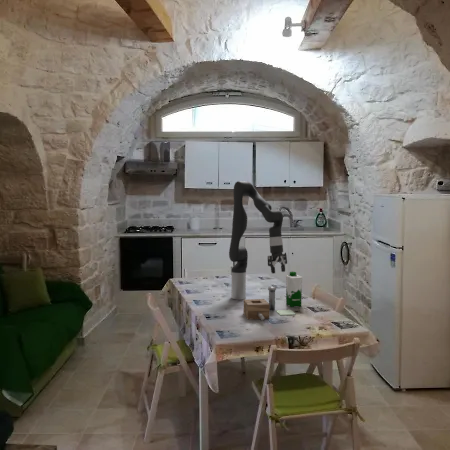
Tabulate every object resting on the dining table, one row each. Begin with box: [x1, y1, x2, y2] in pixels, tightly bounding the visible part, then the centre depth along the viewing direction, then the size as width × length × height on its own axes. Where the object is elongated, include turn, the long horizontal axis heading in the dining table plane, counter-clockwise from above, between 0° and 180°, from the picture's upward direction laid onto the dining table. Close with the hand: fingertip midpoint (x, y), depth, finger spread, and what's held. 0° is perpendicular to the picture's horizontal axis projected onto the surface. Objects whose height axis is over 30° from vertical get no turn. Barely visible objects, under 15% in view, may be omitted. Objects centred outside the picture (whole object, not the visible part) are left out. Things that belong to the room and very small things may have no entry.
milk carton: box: [285, 271, 304, 308], centre depth 282 cm, size 9×9×20 cm
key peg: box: [267, 286, 277, 312], centre depth 272 cm, size 5×5×13 cm
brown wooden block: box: [242, 298, 270, 321], centre depth 255 cm, size 21×12×8 cm, turn 9°
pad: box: [275, 309, 296, 317], centre depth 266 cm, size 9×9×1 cm
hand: (278, 272), depth 270 cm, fingers open, 8 cm apart
